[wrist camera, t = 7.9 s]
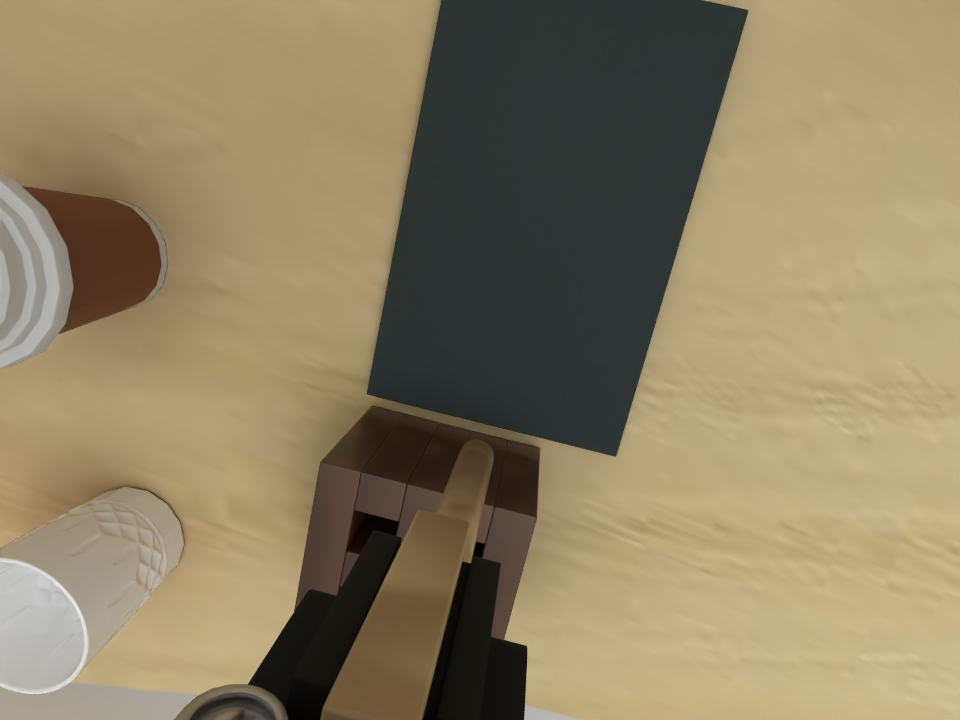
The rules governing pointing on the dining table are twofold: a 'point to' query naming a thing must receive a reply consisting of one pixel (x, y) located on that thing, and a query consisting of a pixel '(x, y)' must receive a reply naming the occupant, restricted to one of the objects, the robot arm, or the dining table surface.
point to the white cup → (80, 584)
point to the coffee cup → (69, 264)
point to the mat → (548, 207)
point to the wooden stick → (414, 604)
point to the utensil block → (415, 498)
